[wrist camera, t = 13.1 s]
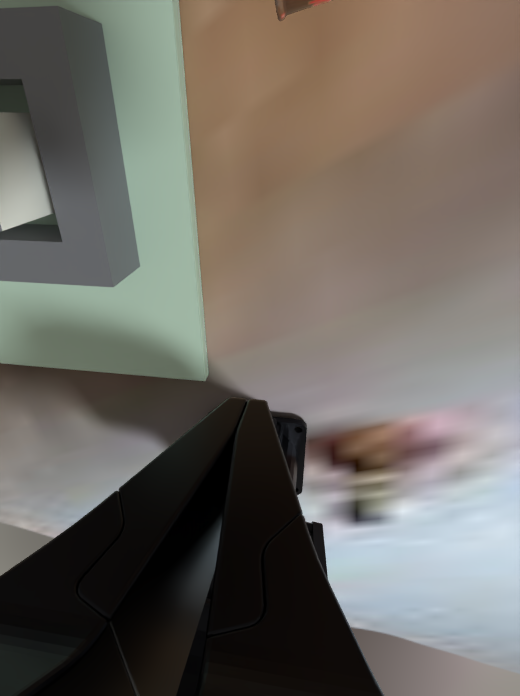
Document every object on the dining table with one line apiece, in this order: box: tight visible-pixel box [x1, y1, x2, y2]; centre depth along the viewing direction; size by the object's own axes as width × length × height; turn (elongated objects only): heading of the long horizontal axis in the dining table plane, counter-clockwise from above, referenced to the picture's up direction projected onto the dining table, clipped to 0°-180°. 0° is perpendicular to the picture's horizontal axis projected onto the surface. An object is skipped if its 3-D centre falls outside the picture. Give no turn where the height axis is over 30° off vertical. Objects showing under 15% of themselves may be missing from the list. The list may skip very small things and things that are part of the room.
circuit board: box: [0, 0, 209, 381], centre depth 21 cm, size 18×14×1 cm
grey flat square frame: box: [0, 6, 140, 287], centre depth 18 cm, size 10×10×3 cm
